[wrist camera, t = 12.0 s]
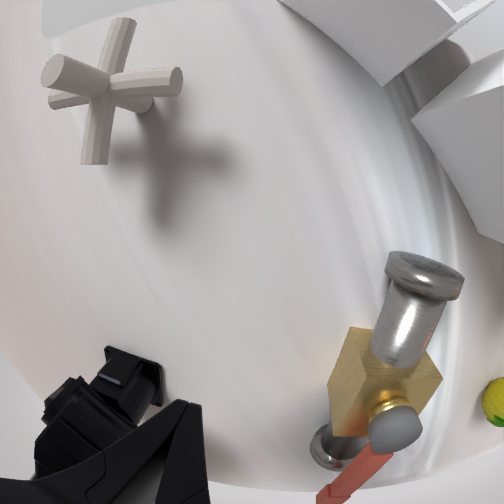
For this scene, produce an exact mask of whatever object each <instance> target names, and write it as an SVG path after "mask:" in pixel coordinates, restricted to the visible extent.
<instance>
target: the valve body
mask: <svg viewBox="0 0 504 504" xmlns="http://www.w3.org/2000/svg"><path fill="white" fill-rule="evenodd" d="M385 274H386V275H387V276H388V277H389V278H390V279H392V281H391V284H390V287H389V290H388V293H387V296H386V299H385V302H384V305H383V307H382V310H381V313H380V316H379V318H378V321H377V324H376V326H375V329H374V330H370V329H362V328H355V327H350V328H349V331H348V334H347V337H346V339H345V342H344V345H343V347H342V350H341V352H340V355H339V357H338V360H337V362H336V365H335V367H334V370H333V372H332V374H331V377H330V379H329V381H328V384H327V387H328V395H329V403H330V412H331V421H330V423H329V424H327V425H325V426H323V427H321V428H320V429H319V430H318V431H317V432H316V434H315V436H314V437H313V439H312V441H311V444H310V452H311V455H312V457H313V459H314V460H315V461H316V462H317V463H318V464H319V465H320V466H322V467H324V468H326V469H328V470H332V471H344V470H345V469H346V468H347V467H348V466H349V464H350V463H351V462H352V461H353V460H354V459H355V458H356V457H357V455H358V454H359V453H360V452H361V451H362V450H363V448H364V447H365V446H366V445H367V442H368V441H369V435H368V426H369V424H370V422H371V421H372V420H373V419H374V418H375V417H376V416H378V415H379V414H381V413H382V412H384V411H386V410H388V409H391V408H394V407H398V406H411V407H413V408H414V409H415V410H416V412H417V415H419V414H420V413H421V411H422V410H423V409H424V407H425V406H426V404H427V403H428V401H429V400H430V398H431V397H432V395H433V394H434V392H435V391H436V389H437V388H438V386H439V384H440V383H441V381H442V379H443V377H442V376H441V374H440V372H439V371H438V369H437V368H436V366H435V364H434V363H433V361H432V360H431V358H430V356H429V355H428V353H427V352H426V348H427V346H428V344H429V342H430V340H431V337H432V335H433V333H434V331H435V329H436V326H437V324H438V322H439V319H440V317H441V315H442V312H443V310H444V307H445V305H446V302H447V301H452V300H456V299H457V298H458V297H459V294H460V291H461V289H462V286H463V283H464V280H465V279H464V277H463V276H462V275H461V274H460V273H458V272H457V271H455V270H454V269H452V268H450V267H448V266H446V265H444V264H442V263H440V262H437V261H435V260H432V259H429V258H426V257H423V256H420V255H416V254H412V253H408V252H402V251H392V252H390V253H389V256H388V260H387V263H386V267H385Z"/></svg>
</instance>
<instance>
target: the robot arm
mask: <svg viewBox="0 0 504 504" xmlns="http://www.w3.org/2000/svg"><path fill="white" fill-rule="evenodd" d="M104 352H105V357H106V364H105V365H104V366H103V367H102V368H101V369H100V370H99V372H98V373H97V376H96V377H95V378H94V379H93V380H92V381H91V383H90V384H89V385H88V384H87V383H86V382H85V381H84V379H83V378H82V377H81V376H79V377H78V378H77V379H73V378H71V377H69V378H68V379H67V380H66V381H65V383H64V384H63V385H62V386H61V387H59V388H58V389H57V390H56V391H55V392H54V393H52V394H51V395H50V396H49V397H48V398H47V399H46V400H45V401H44V403H45V411H44V415H43V417H42V418H41V420H42V421H43V422H44V423H45V424H46V425H47V426H46V428H45V429H44V430H43V431H42V433H41V434H40V435H39V436H38V438H37V439H36V441H35V449H34V459H35V473H34V475H33V476H32V477H31V479H30V480H15V479H7V478H0V504H210V497H209V490H208V480H207V471H206V460H205V448H204V435H203V420H202V406H201V405H199V404H195V403H189V402H188V401H185V400H181V399H176V400H175V401H173V402H172V403H171V404H169V405H168V406H167V407H165V408H164V409H163V410H161V411H160V412H158V413H157V414H156V415H154V416H153V417H151V418H150V419H149V420H147V421H146V422H144V423H143V424H142V425H140V426H139V427H138V426H137V425H138V424H139V422H140V420H141V419H142V417H143V415H144V413H145V412H146V410H147V408H148V407H149V405H150V404H152V405H155V406H158V407H161V406H162V405H163V392H162V378H161V366H160V365H159V364H158V363H156V362H153V361H149V360H146V359H144V358H141V357H138V356H135V355H132V354H129V353H127V352H124V351H121V350H119V349H116V348H113V347H111V346H106V347H105V348H104ZM155 367H156V368H155ZM154 502H155V503H154Z"/></svg>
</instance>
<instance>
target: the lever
mask: <svg viewBox="0 0 504 504" xmlns="http://www.w3.org/2000/svg"><path fill="white" fill-rule="evenodd" d="M422 430H423V428H422V425H421V422H420V420H419V417H418V415H417V412H416V410H415V409H414V408H413V407H411V406H398V407H394V408H391V409H388V410H386V411H384V412H382V413H381V414H379V415H378V416H376V417H375V418H374V419H373V420H372V421H371V422H370V424H369V426H368V435H369V440H370V441H369V442H368V444H367V445H366V446H365V447H364V448H363V450H362V451H361V452H360V453H359V454H358V455H357V457H356V458H355V459H354V460H353V461H352V462H351V463H350V464H349V466H348V467H347V468H346V469H345V470H344V471H343V472H342V473H341V474H340V475H339V476H338V477H337V478H336V479H335V480H334V481H333V482H332V483H331V484H327V485H326V486H325V487H324V488H323V489H322V490H321V491H320V492H319V493H318V494H317V495H316V504H342V503H344V502H345V501H346V500H348V499H349V498H350V497H351V494H352V493H353V492H354V491H356V490H357V489H358V488H359V487H360V486H362V485H363V484H364V483H365V482H366V481H367V480H368V479H369V478H370V477H372V476H373V475H374V474H375V473H376V472H377V471H378V470H379V469H380V468H381V467H382V466H383V465H384V464H385V463H386V462H387V461H388V460H389V459H390V458H391V457H392V456H393V455H394V454H393V452H396V451H399V450H401V449H404V448H406V447H407V446H409V445H410V444H412V443H413V442H414V441H416V440H417V439H418V437H419V436H420V435H421V433H422Z"/></svg>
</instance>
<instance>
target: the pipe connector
mask: <svg viewBox="0 0 504 504" xmlns="http://www.w3.org/2000/svg"><path fill="white" fill-rule="evenodd" d="M136 25H137V23H136V21H135V20H133V19H131V18H117V19H115V20H113V21H112V23H111V26H110V28H109V31H108V34H107V37H106V40H105V43H104V46H103V50H102V53H101V56H100V60H99V63H98V67H97V68H94V67H92V66H90V65H87V64H85V63H82V62H80V61H77V60H75V59H72V58H70V57H67V56H64V55H62V54H56V55H55V56H53V57H52V58H51V59H50V60H49V61H48V62H47V64H46V65H45V67H44V69H43V72H42V75H41V84H42V86H44V87H47V88H52V90H51V92H50V94H49V96H48V103H49V106H50V108H52V109H54V110H56V109H61V108H66V107H71V106H77V105H83V104H89V107H88V112H87V118H86V125H85V131H84V139H83V147H82V156H81V165H107V164H108V154H109V146H110V138H111V131H112V124H113V118H114V112H115V107H116V106H117V107H121V108H124V109H127V110H130V111H133V112H136V113H139V114H142V113H145V112H147V111H148V110H149V109H150V108H151V106H152V103H153V97H168V96H178V95H179V93H180V92H181V89H182V84H183V76H182V71H181V69H180V68H179V67H165V68H154V69H144V70H136V71H128V72H123V70H124V66H125V62H126V58H127V54H128V51H129V47H130V44H131V41H132V37H133V34H134V31H135V28H136Z"/></svg>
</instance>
